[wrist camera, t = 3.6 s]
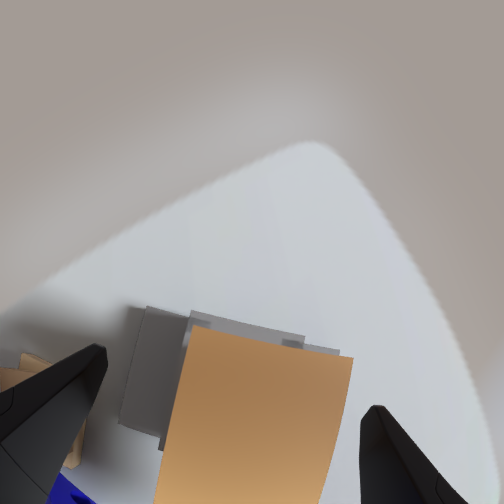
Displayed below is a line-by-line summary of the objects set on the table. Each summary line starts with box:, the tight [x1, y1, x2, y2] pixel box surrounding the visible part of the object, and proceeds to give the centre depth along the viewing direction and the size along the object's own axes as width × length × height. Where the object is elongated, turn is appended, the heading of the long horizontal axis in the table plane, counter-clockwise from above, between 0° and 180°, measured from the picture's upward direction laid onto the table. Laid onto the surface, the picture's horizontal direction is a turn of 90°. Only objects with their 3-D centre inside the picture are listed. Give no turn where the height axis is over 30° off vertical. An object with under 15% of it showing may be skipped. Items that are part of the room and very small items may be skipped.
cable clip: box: [45, 472, 96, 504], centre depth 10 cm, size 12×4×6 cm, turn 55°
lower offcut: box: [19, 353, 87, 469], centre depth 14 cm, size 6×5×2 cm
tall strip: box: [153, 325, 353, 504], centre depth 9 cm, size 4×2×12 cm, turn 167°
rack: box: [118, 306, 340, 451], centre depth 14 cm, size 7×11×4 cm, turn 77°
